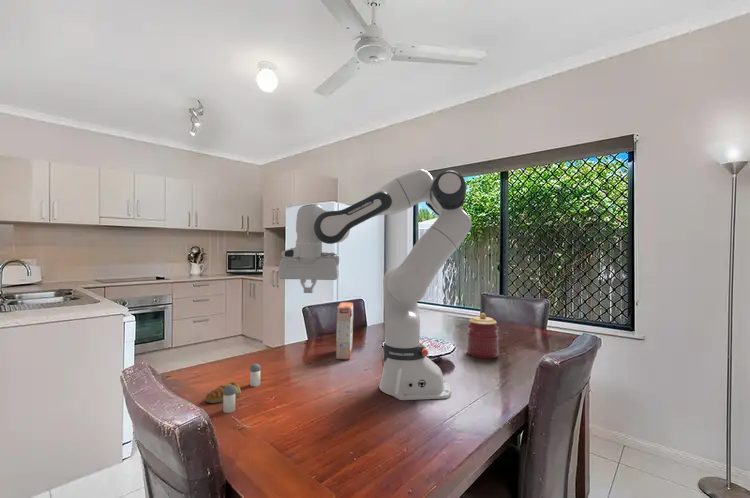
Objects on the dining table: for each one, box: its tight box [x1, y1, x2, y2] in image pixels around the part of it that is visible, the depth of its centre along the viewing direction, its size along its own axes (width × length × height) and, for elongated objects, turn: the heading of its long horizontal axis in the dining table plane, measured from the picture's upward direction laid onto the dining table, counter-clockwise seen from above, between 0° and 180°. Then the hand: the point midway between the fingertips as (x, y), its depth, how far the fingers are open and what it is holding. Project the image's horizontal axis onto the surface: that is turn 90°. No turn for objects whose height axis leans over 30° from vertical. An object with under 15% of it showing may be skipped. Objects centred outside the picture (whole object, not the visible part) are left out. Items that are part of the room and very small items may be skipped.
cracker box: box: [335, 301, 354, 361], centre depth 148 cm, size 14×6×21 cm, turn 179°
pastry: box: [204, 381, 242, 404], centre depth 105 cm, size 9×7×4 cm
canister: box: [466, 312, 500, 359], centre depth 152 cm, size 13×13×18 cm
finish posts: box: [222, 363, 262, 414], centre depth 106 cm, size 3×21×7 cm, turn 177°
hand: (308, 292), depth 122 cm, fingers closed
